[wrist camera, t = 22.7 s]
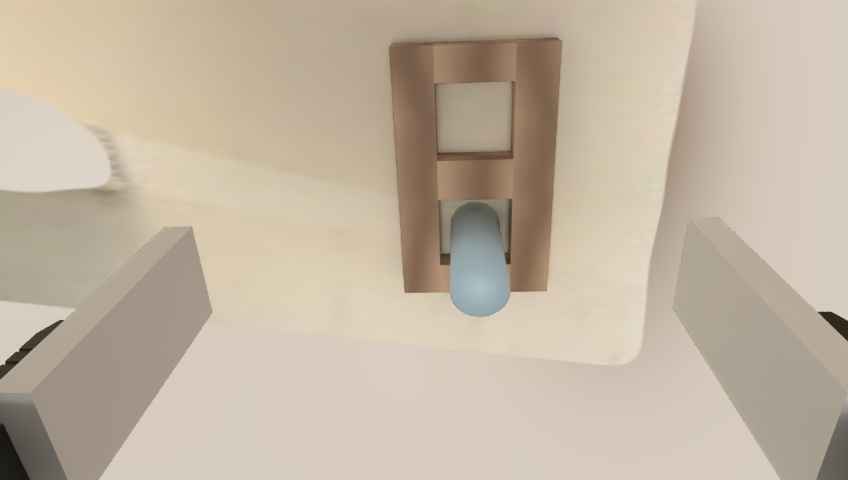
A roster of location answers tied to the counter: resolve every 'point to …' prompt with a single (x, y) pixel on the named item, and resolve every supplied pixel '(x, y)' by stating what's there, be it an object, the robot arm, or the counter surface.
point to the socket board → (482, 171)
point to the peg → (477, 261)
